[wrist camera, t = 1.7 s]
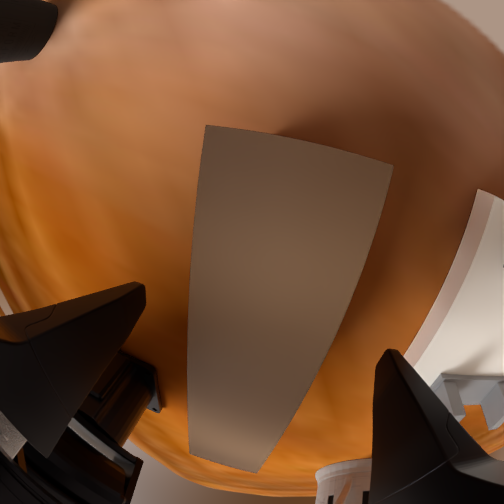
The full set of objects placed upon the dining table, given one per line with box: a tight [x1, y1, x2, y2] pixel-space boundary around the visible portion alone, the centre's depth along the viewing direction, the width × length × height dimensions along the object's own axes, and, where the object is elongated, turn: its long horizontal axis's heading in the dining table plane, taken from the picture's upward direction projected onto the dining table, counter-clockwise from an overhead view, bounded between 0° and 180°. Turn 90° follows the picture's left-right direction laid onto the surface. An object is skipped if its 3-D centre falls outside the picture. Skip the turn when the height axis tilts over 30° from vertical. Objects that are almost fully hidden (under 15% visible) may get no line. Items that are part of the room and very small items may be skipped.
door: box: [187, 125, 394, 473], centre depth 9 cm, size 12×3×7 cm, turn 170°
